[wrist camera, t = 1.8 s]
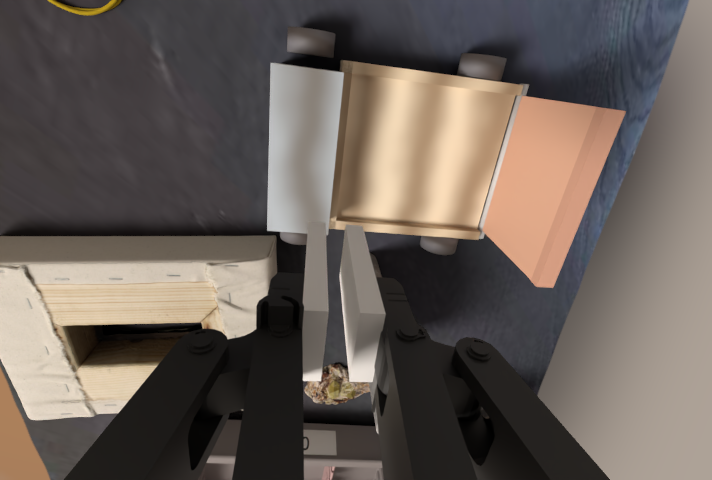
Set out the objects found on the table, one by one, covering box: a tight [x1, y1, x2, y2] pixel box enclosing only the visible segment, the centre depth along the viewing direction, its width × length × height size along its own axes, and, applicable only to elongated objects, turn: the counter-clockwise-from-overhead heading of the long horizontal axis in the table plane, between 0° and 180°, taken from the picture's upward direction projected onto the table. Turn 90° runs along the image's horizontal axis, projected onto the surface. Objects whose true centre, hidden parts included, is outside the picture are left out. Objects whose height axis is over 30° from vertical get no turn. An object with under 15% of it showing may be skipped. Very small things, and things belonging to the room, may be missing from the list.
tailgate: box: [478, 83, 626, 288], centre depth 35 cm, size 2×17×13 cm, turn 173°
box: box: [0, 235, 277, 420], centre depth 45 cm, size 23×8×32 cm
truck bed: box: [267, 27, 524, 255], centre depth 38 cm, size 24×21×8 cm
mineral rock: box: [305, 364, 370, 405], centre depth 56 cm, size 11×4×8 cm
